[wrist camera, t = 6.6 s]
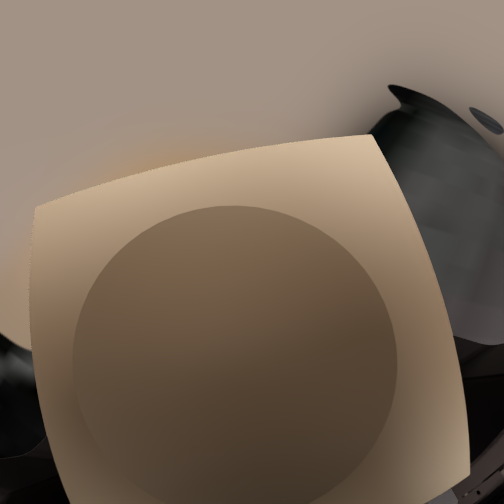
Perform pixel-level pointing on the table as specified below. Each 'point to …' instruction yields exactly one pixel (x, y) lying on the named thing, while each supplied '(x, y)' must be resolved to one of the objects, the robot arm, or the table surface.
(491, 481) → the robot arm
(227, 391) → the tower piece
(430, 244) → the table surface
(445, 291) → the table surface
